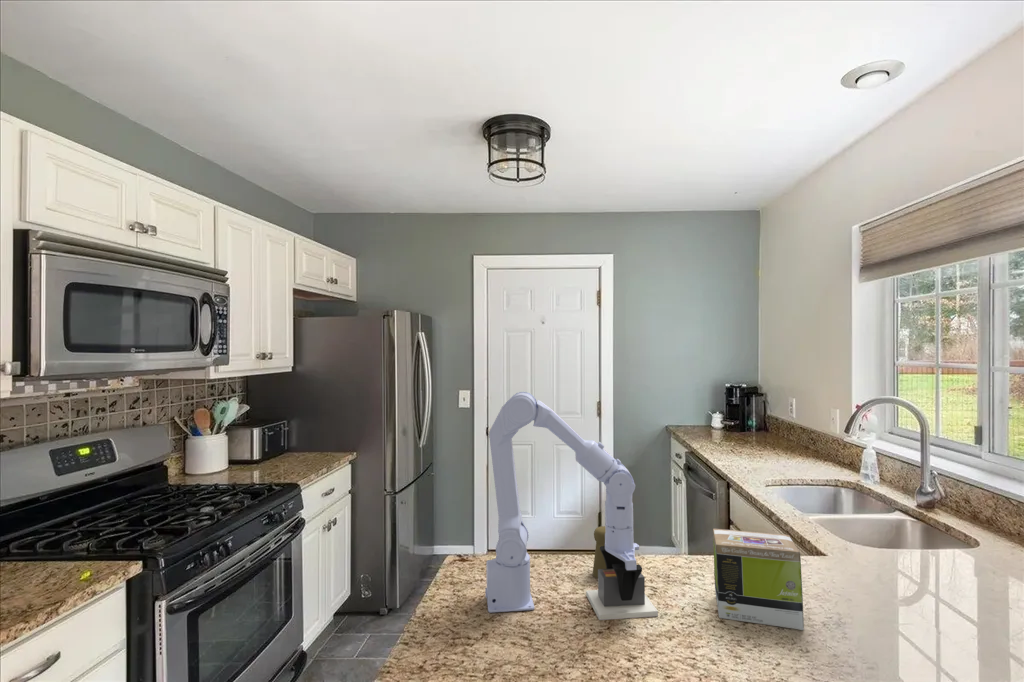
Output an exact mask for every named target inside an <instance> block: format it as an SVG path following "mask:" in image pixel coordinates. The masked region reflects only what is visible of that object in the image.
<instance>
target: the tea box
mask: <svg viewBox="0 0 1024 682" xmlns="http://www.w3.org/2000/svg"><path fill="white" fill-rule="evenodd" d="M712 542H713V543H712V547H713V569H714V571H713V575H714V577H713V578H714V591H715V592H714V593H715V594H714V595H715V598H716V605H717V614H718V618H719V619H725V620H726V619H727V620H732V621H738V622H739V621H740V622H745V623H753V624H760V625H765V626H766V625H767V626H773V627H774V626H775V627H780V628H788V629H793V630H799V631H800V630H801V631H804V630H805V621H804V619H805V618H804V602H803V601H804V600H803V599H804V598H803V579H802V561H801V552H800V551H799V549H798V547H797V545H796V544H795V543H794V541H793V539H792V538H791V536H790V535H789V534H783V533H768V532H757V531H747V530H746V531H745V530H735V529H733V530H732V529H722V528H713V529H712Z"/></svg>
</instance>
